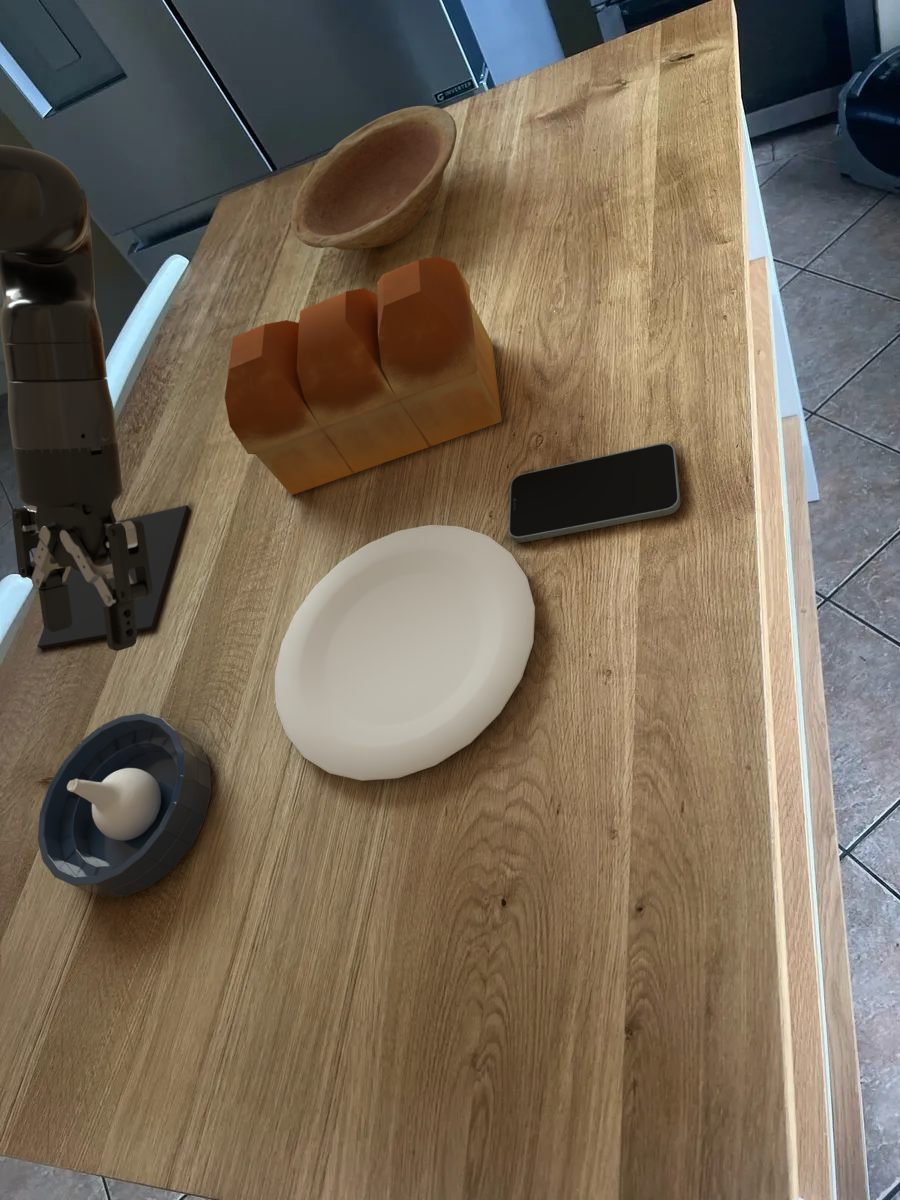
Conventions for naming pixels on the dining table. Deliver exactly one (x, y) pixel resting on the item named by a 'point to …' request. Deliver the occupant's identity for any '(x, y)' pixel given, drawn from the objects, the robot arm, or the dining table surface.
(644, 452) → the smartphone
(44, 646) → the mat
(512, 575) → the plate
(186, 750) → the glazed bowl
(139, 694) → the dining table surface
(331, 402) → the bread
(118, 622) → the robot arm
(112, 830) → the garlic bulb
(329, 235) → the bowl
